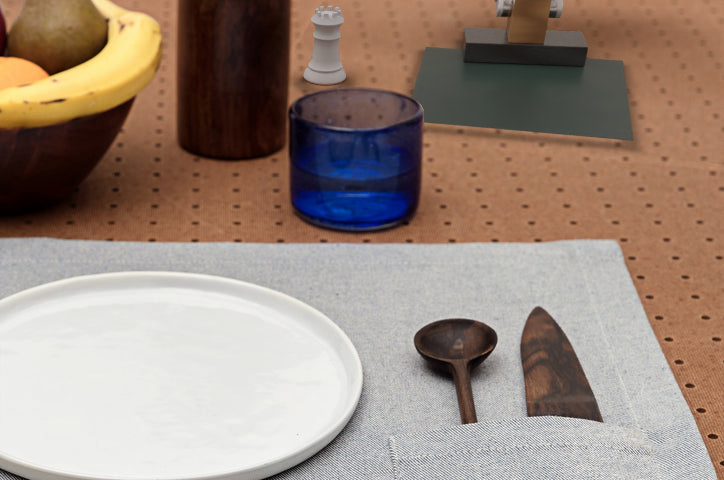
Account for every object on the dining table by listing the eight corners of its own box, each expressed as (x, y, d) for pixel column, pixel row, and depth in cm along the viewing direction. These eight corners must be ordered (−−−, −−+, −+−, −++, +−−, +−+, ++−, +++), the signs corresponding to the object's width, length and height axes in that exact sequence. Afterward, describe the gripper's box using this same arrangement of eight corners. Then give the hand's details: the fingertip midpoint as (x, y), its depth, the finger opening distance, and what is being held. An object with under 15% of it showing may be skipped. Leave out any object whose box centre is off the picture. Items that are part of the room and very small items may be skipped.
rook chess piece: (335, 77, 111) (339, 0, 106) (353, 93, 107) (359, 13, 103) (295, 83, 110) (297, 5, 105) (312, 99, 106) (316, 19, 102)
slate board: (620, 71, 111) (623, 60, 110) (630, 152, 95) (633, 140, 94) (424, 57, 115) (425, 46, 115) (403, 132, 100) (404, 120, 99)
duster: (578, 50, 113) (593, -28, 108) (584, 66, 109) (600, -14, 104) (461, 45, 114) (471, -32, 110) (463, 61, 110) (473, -18, 106)
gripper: (435, -129, 109) (427, -3, 107) (644, -128, 107) (641, 2, 104) (429, -94, 115) (422, 26, 113) (627, -91, 113) (623, 32, 111)
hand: (529, 15), depth 109 cm, fingers closed on duster, 3 cm apart
